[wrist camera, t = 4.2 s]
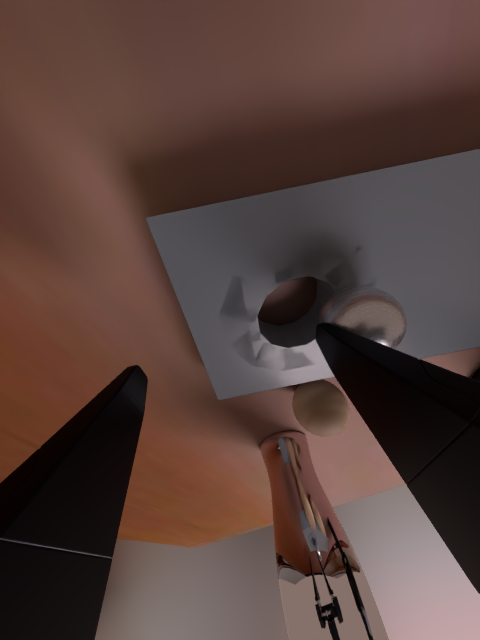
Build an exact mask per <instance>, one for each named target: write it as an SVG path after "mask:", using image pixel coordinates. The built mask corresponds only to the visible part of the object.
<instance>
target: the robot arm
mask: <svg viewBox="0 0 480 640" xmlns="http://www.w3.org/2000/svg"><path fill="white" fill-rule="evenodd" d="M316 342H317V344H318V346H319V348H320V350H321V352H322V354H323V356H324V358H325V360H326V362H327V364H328V366H329V368H330V369H331V371H332V373H333V374H334V376H335V378H336V379H337V381H338V382H339V384H340V385H341V387H342V388H343V390H344V391H345V393H346V394H347V396H348V397H349V399H350V400H351V402H352V403H353V405H354V406H355V408H356V409H357V411H358V412H359V414H360V415H361V417H362V418H363V420H364V421H365V423H366V424H367V426H368V427H369V429H370V430H371V432H372V433H373V435H374V436H375V438H376V439H377V441H378V442H379V444H380V445H381V447H382V448H383V450H384V452H385V453H386V455H387V456H388V458H389V459H390V461H391V462H392V464H393V465H394V467H395V468H396V470H397V471H398V473H399V474H400V476H401V477H402V479H403V480H404V482H405V483H406V484H407V487H408V488H409V490H410V491H411V492H412V494H413V495H414V497H415V499H416V500H417V502H418V503H419V505H420V506H421V508H422V509H423V510H424V512H425V514H426V515H427V517H428V518H429V520H430V521H431V523H432V524H433V526H434V527H435V529H436V530H437V532H438V533H439V535H440V536H441V538H442V539H443V541H444V542H445V544H446V545H447V547H448V548H449V550H450V551H451V553H452V554H453V556H454V558H455V559H456V561H457V562H458V563H459V565H460V567H461V568H462V570H463V571H464V573H465V574H466V576H467V577H468V579H469V580H470V582H471V583H472V585H473V586H474V587H475V589H476V590H477V591H478V593H479V594H480V368H479V370H478V371H477V372H476V373H475V375H474V376H473V377H472V378H469V377H466V376H463V375H460V374H457V373H454V372H452V371H449V370H447V369H444V368H441V367H439V366H436V365H433V364H431V363H428V362H426V361H423V360H421V359H419V360H418V358H416V357H413V356H411V355H408V354H406V353H403V352H401V351H398V350H396V349H393V348H391V347H388V346H386V345H383V344H381V343H378V342H375V341H373V340H370V339H368V338H365V337H363V336H360V335H358V334H355V333H353V332H350V331H348V330H345V329H343V328H340V327H338V326H335V325H333V324H330V323H328V322H324V323H319V324H317V326H316ZM147 383H148V379H147V376H146V375H145V373H144V372H143V371H142V369H141V368H140V366H138V365H134V366H130V367H127V368H126V369H125V370H124V371H123V372H122V373H121V374H120V375H118V376H117V377H116V378H115V379H114V380H113V381H112V382H111V383H110V384H109V385H108V386H106V387H105V388H104V389H103V390H102V391H101V392H100V393H99V394H98V395H97V396H96V397H94V398H93V399H92V400H91V401H90V402H89V403H88V404H87V405H86V406H85V407H84V408H82V409H81V410H80V411H79V412H78V413H77V414H76V415H75V416H74V417H73V418H72V419H70V420H69V421H68V422H67V423H66V424H65V425H64V426H63V427H62V428H61V429H60V430H58V431H57V432H56V433H55V434H54V435H53V436H52V437H51V438H50V439H49V440H48V441H46V442H45V443H44V444H43V445H42V446H41V448H40V449H38V450H37V451H35V452H34V453H33V454H32V455H31V456H30V457H29V458H28V459H27V460H26V461H25V462H23V463H22V464H21V465H20V466H19V467H18V468H17V469H16V470H15V471H13V472H12V473H11V474H10V475H9V476H8V477H7V478H6V479H5V480H3V481H2V482H1V483H0V640H95V635H96V631H97V626H98V621H99V617H100V613H101V608H102V603H103V599H104V594H105V590H106V585H107V581H108V576H109V572H110V567H111V563H112V559H111V558H112V556H113V553H114V548H115V544H116V539H117V535H118V530H119V526H120V521H121V517H122V512H123V507H124V503H125V498H126V494H127V489H128V485H129V480H130V476H131V471H132V467H133V462H134V458H135V453H136V448H137V444H138V439H139V435H140V430H141V426H142V421H143V416H144V410H145V401H146V392H147Z"/></svg>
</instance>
